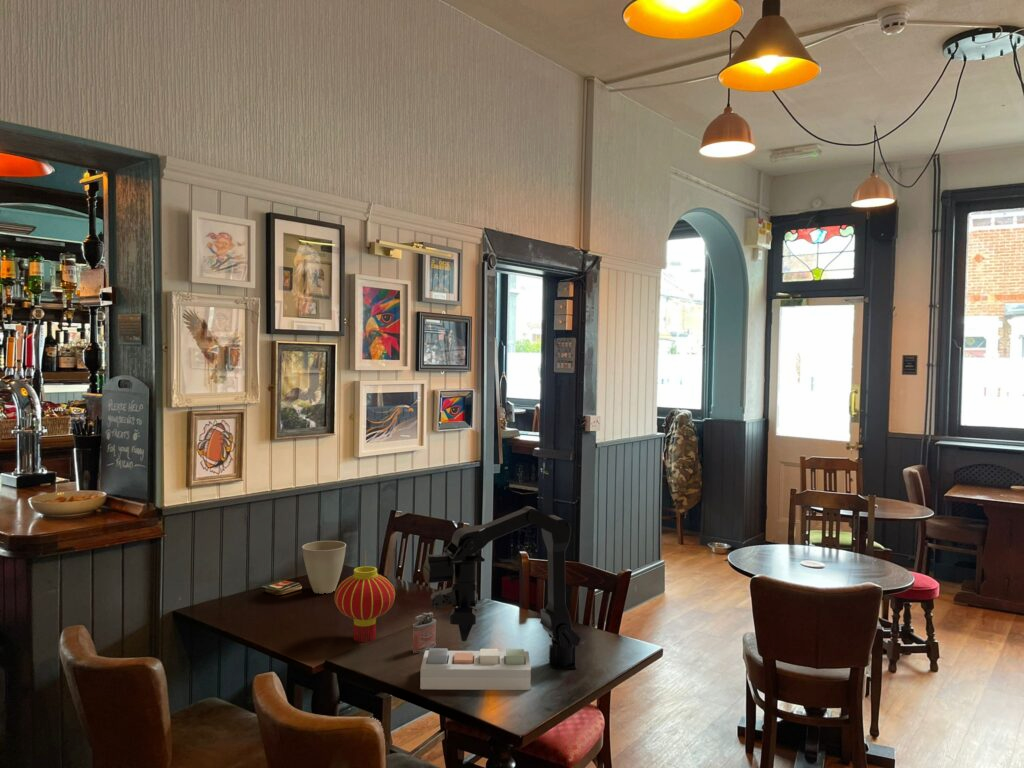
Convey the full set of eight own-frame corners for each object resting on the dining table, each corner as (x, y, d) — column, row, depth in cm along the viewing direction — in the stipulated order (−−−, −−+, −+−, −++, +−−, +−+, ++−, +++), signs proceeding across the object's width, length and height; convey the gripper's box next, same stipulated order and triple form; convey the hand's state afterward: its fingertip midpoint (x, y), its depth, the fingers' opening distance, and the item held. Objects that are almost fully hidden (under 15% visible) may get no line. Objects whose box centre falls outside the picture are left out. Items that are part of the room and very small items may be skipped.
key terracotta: (472, 662, 193) (472, 652, 193) (472, 669, 189) (472, 660, 188) (454, 662, 193) (454, 652, 193) (453, 669, 188) (454, 659, 188)
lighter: (430, 643, 215) (430, 608, 215) (438, 646, 213) (439, 611, 212) (409, 651, 209) (409, 615, 208) (417, 654, 206) (418, 618, 206)
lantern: (404, 631, 224) (405, 531, 224) (378, 652, 208) (379, 544, 207) (352, 625, 229) (353, 526, 228) (323, 645, 212) (324, 539, 211)
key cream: (498, 658, 193) (498, 648, 193) (498, 665, 189) (498, 655, 189) (480, 658, 193) (480, 648, 193) (479, 665, 189) (480, 655, 189)
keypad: (528, 670, 197) (528, 651, 197) (530, 690, 185) (530, 669, 185) (424, 669, 197) (425, 650, 197) (420, 689, 185) (420, 669, 185)
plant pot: (348, 584, 271) (349, 540, 270) (342, 597, 256) (342, 550, 255) (306, 584, 270) (307, 540, 269) (297, 597, 255) (297, 550, 254)
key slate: (447, 658, 193) (447, 648, 193) (446, 665, 188) (446, 655, 188) (429, 657, 193) (429, 648, 193) (427, 665, 188) (428, 655, 188)
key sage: (523, 658, 193) (523, 649, 193) (524, 665, 189) (524, 655, 189) (505, 658, 193) (505, 648, 193) (505, 665, 189) (506, 655, 189)
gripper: (435, 569, 199) (435, 627, 200) (429, 590, 181) (428, 654, 181) (478, 569, 200) (477, 627, 200) (476, 590, 181) (475, 655, 181)
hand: (463, 640), depth 191 cm, fingers closed
